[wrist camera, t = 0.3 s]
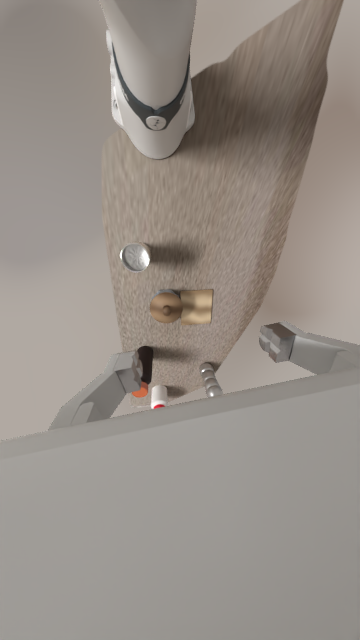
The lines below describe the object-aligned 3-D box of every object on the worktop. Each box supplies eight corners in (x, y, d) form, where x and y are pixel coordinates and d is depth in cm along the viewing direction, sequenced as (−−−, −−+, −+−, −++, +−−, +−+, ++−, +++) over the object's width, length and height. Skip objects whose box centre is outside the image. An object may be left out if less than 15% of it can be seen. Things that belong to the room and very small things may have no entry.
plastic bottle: (207, 372, 77) (221, 412, 59) (195, 369, 75) (206, 409, 57) (214, 363, 74) (231, 401, 57) (202, 359, 72) (216, 398, 55)
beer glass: (146, 237, 47) (141, 236, 34) (156, 260, 50) (155, 267, 37) (126, 246, 47) (113, 248, 34) (136, 268, 51) (129, 278, 37)
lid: (148, 293, 50) (147, 297, 46) (182, 291, 51) (183, 294, 47) (152, 323, 55) (151, 328, 51) (182, 320, 56) (184, 326, 52)
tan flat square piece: (180, 291, 56) (180, 291, 56) (212, 289, 57) (212, 289, 57) (181, 324, 62) (181, 325, 62) (210, 322, 63) (210, 322, 63)
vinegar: (151, 359, 69) (148, 400, 51) (135, 356, 67) (127, 398, 49) (154, 347, 66) (152, 386, 48) (138, 344, 64) (130, 383, 47)
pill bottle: (168, 393, 80) (169, 414, 70) (154, 396, 80) (153, 418, 70) (165, 383, 77) (166, 404, 67) (149, 386, 76) (148, 408, 67)
